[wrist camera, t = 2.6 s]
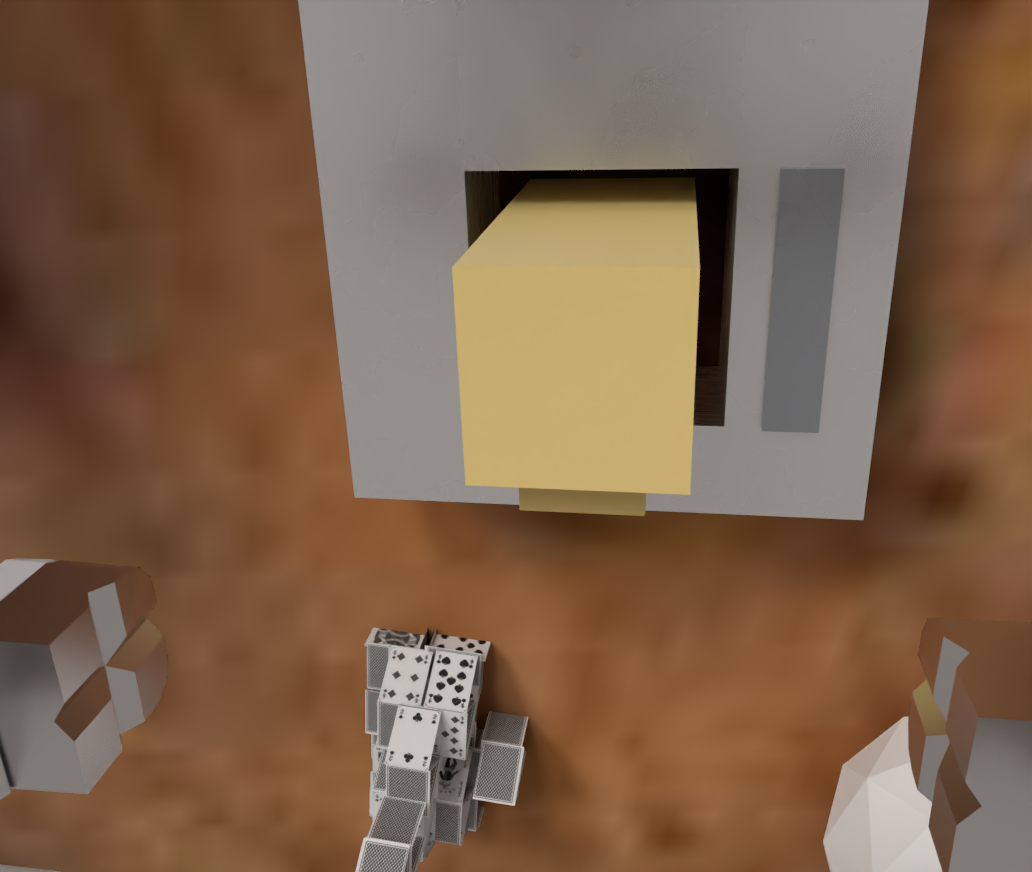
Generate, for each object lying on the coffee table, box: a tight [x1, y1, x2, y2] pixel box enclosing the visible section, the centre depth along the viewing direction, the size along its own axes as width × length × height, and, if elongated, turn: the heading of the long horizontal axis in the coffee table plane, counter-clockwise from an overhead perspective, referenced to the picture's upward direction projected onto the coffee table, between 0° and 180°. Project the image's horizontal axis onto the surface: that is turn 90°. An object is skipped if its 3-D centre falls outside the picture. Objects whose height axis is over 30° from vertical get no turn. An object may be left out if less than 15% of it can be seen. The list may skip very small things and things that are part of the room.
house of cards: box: [355, 628, 529, 872], centre depth 28 cm, size 9×9×8 cm
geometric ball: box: [823, 716, 943, 872], centre depth 25 cm, size 8×8×8 cm
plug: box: [452, 177, 700, 516], centre depth 21 cm, size 5×4×9 cm
